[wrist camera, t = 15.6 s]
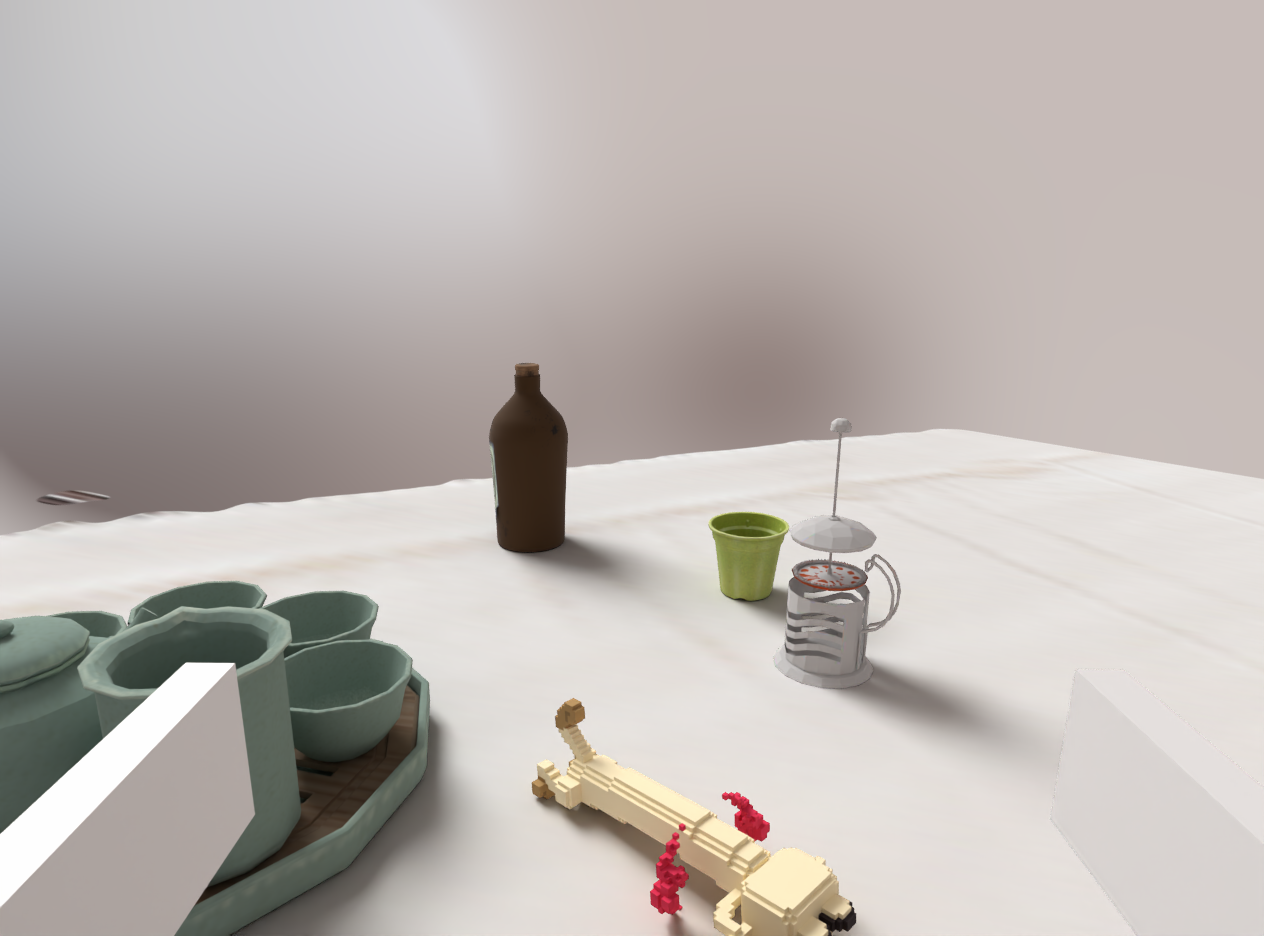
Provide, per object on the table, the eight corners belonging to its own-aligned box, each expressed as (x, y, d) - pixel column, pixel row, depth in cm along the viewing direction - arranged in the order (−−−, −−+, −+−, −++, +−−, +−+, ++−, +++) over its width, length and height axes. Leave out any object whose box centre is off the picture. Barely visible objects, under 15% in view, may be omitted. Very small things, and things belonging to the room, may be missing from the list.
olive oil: (575, 530, 118) (574, 360, 111) (559, 556, 107) (556, 371, 101) (505, 526, 119) (500, 358, 113) (483, 552, 109) (475, 368, 102)
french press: (798, 631, 87) (814, 404, 80) (905, 664, 80) (932, 419, 74) (755, 667, 79) (769, 419, 73) (869, 706, 73) (895, 437, 66)
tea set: (508, 687, 76) (503, 522, 72) (167, 1103, 38) (114, 810, 34) (166, 632, 86) (144, 484, 82) (-366, 920, 49) (-459, 676, 44)
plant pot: (737, 614, 91) (741, 542, 89) (691, 585, 99) (693, 518, 96) (800, 598, 95) (805, 529, 93) (752, 571, 103) (755, 507, 101)
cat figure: (511, 828, 59) (798, 1036, 41) (501, 719, 57) (797, 888, 39) (610, 770, 66) (893, 927, 48) (604, 671, 64) (896, 796, 46)
